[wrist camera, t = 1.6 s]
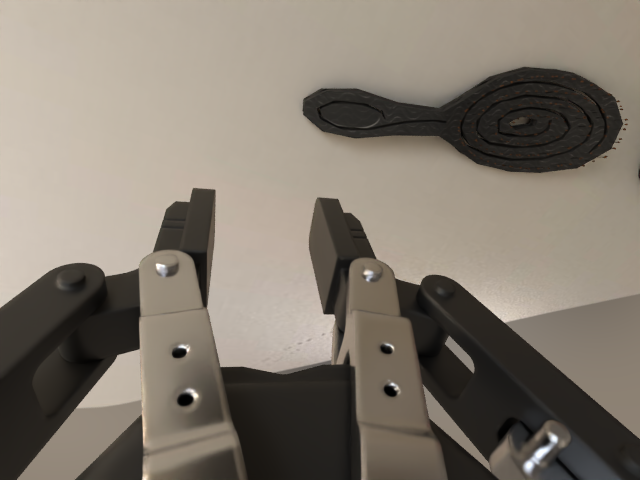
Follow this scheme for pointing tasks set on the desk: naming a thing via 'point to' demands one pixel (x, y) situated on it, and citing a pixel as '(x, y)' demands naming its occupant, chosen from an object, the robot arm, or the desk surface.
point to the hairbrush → (489, 119)
